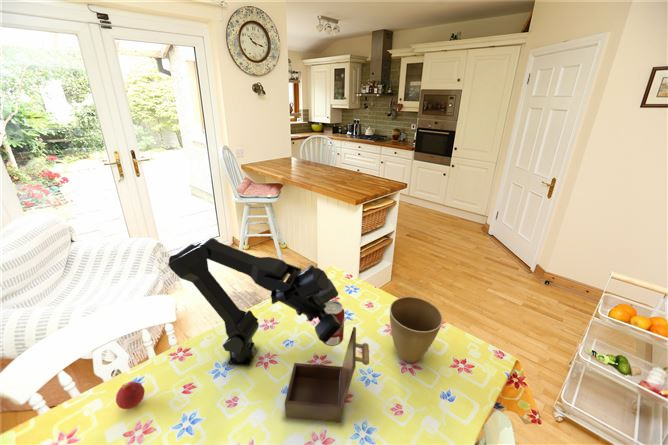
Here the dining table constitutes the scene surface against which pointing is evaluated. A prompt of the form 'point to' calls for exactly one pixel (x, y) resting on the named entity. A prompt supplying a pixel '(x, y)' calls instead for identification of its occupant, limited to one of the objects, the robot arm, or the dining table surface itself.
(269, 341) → the dining table surface
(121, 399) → the onion
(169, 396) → the dining table surface
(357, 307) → the dining table surface
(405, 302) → the plant pot
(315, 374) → the chest
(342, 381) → the chest lid
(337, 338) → the soda can
